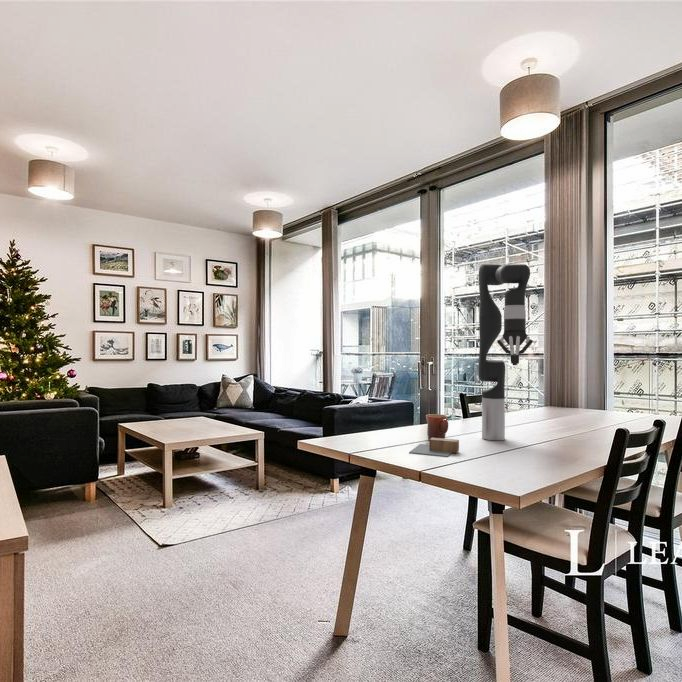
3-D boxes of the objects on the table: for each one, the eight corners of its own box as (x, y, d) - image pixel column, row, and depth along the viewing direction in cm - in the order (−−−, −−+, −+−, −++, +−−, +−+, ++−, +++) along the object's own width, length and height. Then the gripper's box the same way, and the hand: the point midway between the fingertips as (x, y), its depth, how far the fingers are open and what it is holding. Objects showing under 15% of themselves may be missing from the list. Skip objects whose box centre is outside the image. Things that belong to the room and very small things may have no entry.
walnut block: (458, 450, 171) (431, 448, 175) (458, 439, 171) (431, 437, 175) (456, 452, 168) (429, 450, 172) (456, 441, 168) (429, 439, 172)
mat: (419, 444, 183) (419, 443, 183) (456, 448, 178) (456, 447, 178) (409, 453, 169) (409, 452, 169) (447, 456, 163) (447, 455, 163)
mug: (421, 439, 195) (421, 414, 195) (439, 437, 199) (439, 413, 199) (437, 444, 184) (437, 418, 184) (456, 443, 187) (456, 417, 188)
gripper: (534, 318, 173) (534, 365, 172) (496, 319, 178) (497, 364, 178) (533, 317, 166) (534, 365, 165) (494, 318, 171) (495, 365, 171)
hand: (514, 365), depth 172 cm, fingers closed
